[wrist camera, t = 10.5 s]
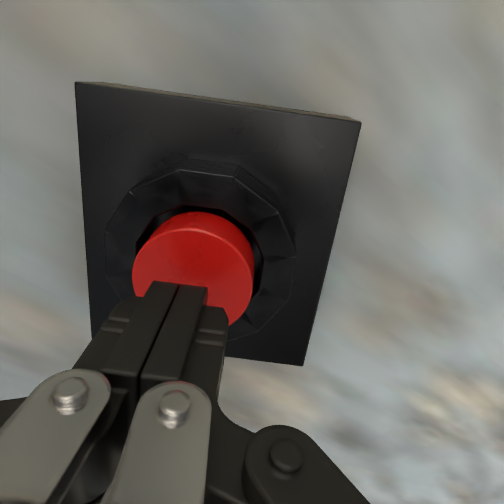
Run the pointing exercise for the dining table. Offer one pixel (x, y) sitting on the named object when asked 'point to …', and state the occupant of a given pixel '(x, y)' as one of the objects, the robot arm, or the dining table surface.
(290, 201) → the housing
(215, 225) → the button
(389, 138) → the dining table surface
